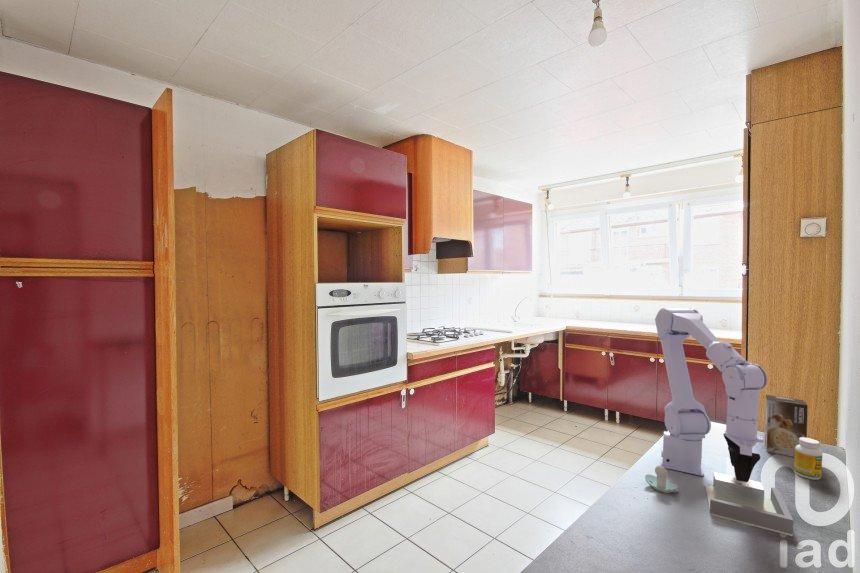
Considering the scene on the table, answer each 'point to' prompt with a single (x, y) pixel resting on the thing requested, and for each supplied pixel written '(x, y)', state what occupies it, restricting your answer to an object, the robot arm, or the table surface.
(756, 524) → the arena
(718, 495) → the aluminium bar
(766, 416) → the coffee box
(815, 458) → the supplement bottle
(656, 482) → the pacifier
